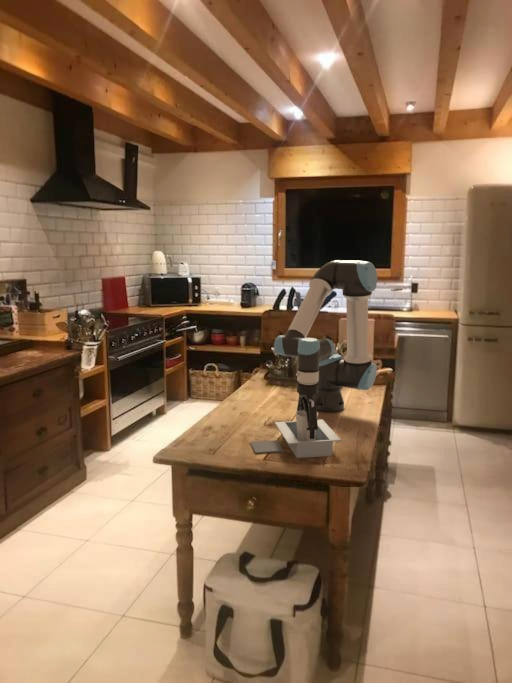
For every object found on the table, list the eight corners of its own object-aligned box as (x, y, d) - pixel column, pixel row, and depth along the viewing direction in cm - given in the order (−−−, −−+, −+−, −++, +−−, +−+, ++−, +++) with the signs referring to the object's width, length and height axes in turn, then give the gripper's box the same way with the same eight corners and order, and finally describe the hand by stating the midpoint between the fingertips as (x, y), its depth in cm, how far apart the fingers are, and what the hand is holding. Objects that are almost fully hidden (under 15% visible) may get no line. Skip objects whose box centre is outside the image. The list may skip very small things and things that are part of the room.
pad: (277, 441, 204) (277, 440, 204) (283, 452, 194) (283, 450, 194) (250, 443, 202) (250, 441, 202) (255, 453, 192) (255, 452, 192)
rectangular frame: (322, 433, 213) (322, 419, 212) (340, 455, 192) (341, 439, 191) (274, 436, 209) (274, 422, 208) (288, 458, 188) (288, 443, 187)
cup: (302, 450, 195) (303, 418, 193) (290, 443, 202) (291, 411, 200) (321, 447, 199) (322, 414, 197) (309, 439, 206) (310, 408, 204)
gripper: (289, 374, 207) (288, 429, 211) (306, 391, 184) (305, 453, 188) (308, 373, 208) (307, 428, 212) (328, 391, 185) (326, 452, 189)
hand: (306, 440), depth 200 cm, fingers open, 12 cm apart
